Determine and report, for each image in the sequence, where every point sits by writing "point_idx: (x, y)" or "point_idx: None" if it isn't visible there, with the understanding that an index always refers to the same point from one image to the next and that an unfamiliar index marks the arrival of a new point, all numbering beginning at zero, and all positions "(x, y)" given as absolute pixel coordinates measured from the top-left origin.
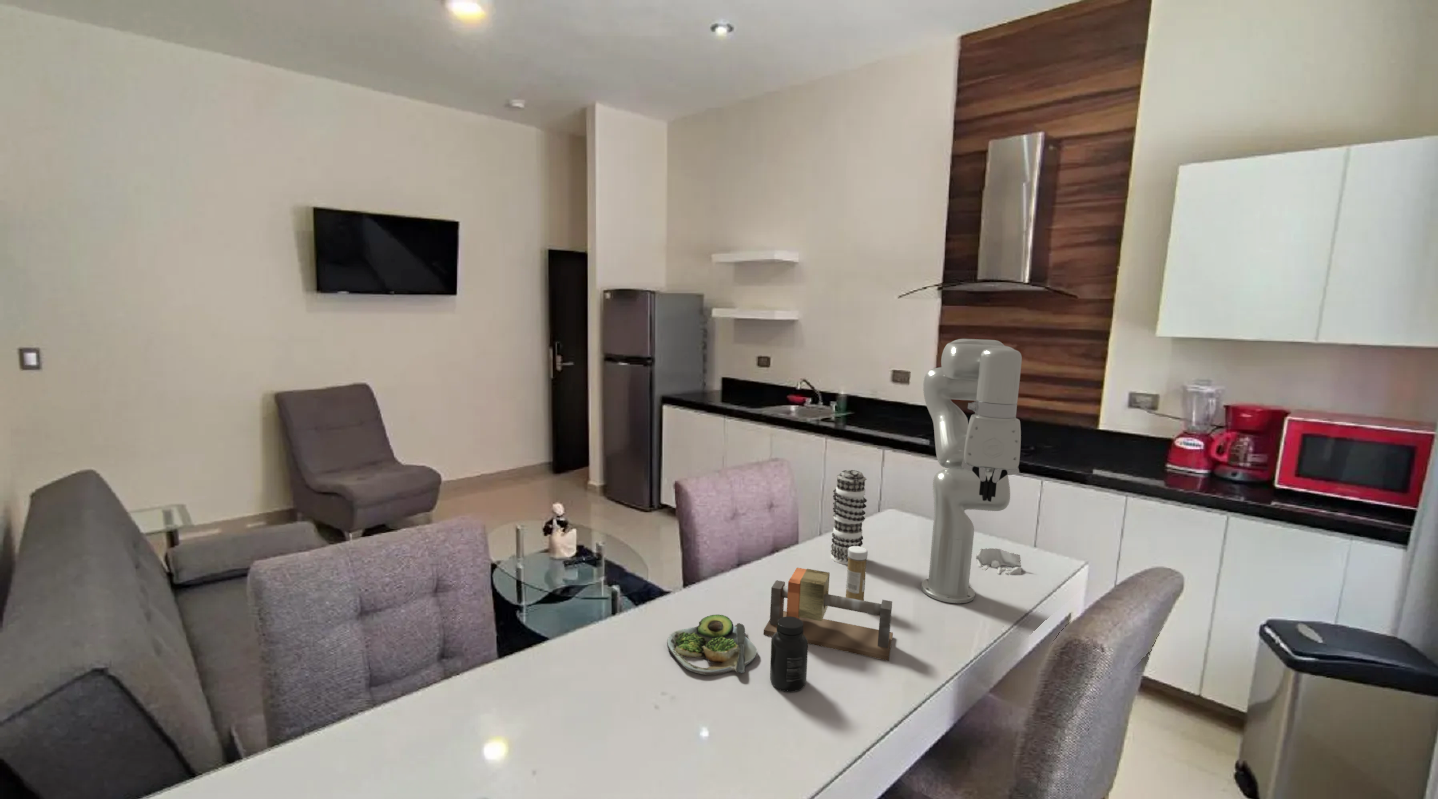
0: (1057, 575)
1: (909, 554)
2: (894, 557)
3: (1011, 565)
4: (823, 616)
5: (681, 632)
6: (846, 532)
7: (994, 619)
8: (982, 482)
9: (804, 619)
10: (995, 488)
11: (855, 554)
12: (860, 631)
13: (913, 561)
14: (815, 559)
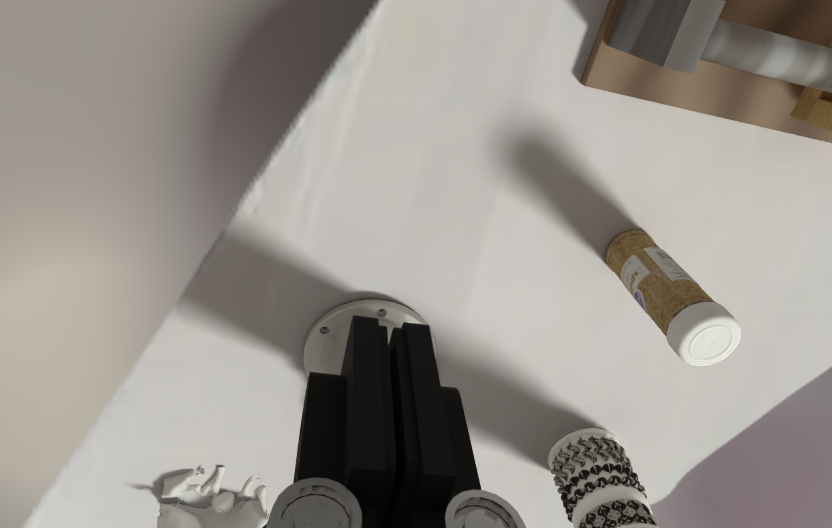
0: (74, 491)
1: None
2: None
3: (183, 508)
4: (829, 46)
5: None
6: (629, 500)
7: (272, 241)
8: (462, 491)
9: None
10: (309, 433)
11: (725, 313)
12: (676, 73)
13: None
14: (658, 434)
